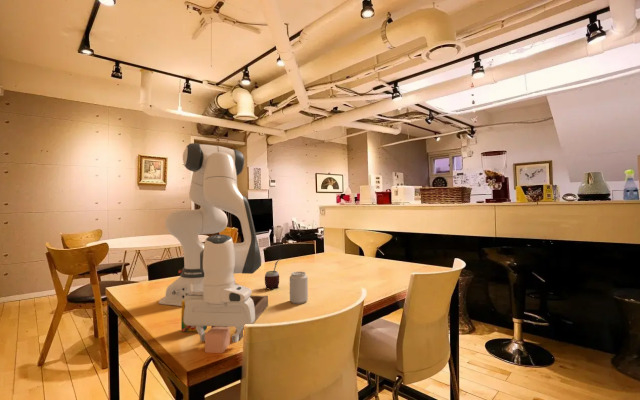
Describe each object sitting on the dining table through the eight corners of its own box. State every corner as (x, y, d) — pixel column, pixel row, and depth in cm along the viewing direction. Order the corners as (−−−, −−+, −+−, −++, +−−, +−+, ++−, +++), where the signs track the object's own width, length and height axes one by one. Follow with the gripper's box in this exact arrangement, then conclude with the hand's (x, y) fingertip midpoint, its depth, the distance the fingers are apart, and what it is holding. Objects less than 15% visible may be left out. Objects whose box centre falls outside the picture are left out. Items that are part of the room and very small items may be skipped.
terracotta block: (205, 352, 82) (205, 334, 83) (213, 344, 87) (213, 327, 87) (222, 353, 82) (222, 334, 82) (229, 344, 87) (229, 327, 87)
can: (305, 304, 121) (304, 275, 121) (287, 304, 122) (287, 274, 123) (309, 299, 128) (309, 271, 128) (292, 298, 130) (292, 270, 130)
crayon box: (181, 332, 96) (180, 295, 96) (185, 328, 99) (185, 292, 99) (204, 331, 96) (203, 295, 96) (207, 328, 99) (207, 292, 99)
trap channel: (211, 339, 90) (211, 325, 90) (246, 305, 121) (246, 295, 121) (239, 340, 90) (239, 326, 90) (268, 305, 120) (267, 295, 120)
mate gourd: (265, 286, 149) (265, 256, 149) (281, 286, 150) (280, 256, 150) (264, 291, 142) (263, 259, 142) (281, 290, 142) (280, 258, 143)
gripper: (178, 294, 84) (179, 344, 84) (249, 296, 82) (250, 346, 82) (190, 288, 90) (190, 334, 90) (256, 289, 88) (257, 336, 88)
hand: (219, 340), depth 86 cm, fingers open, 8 cm apart
